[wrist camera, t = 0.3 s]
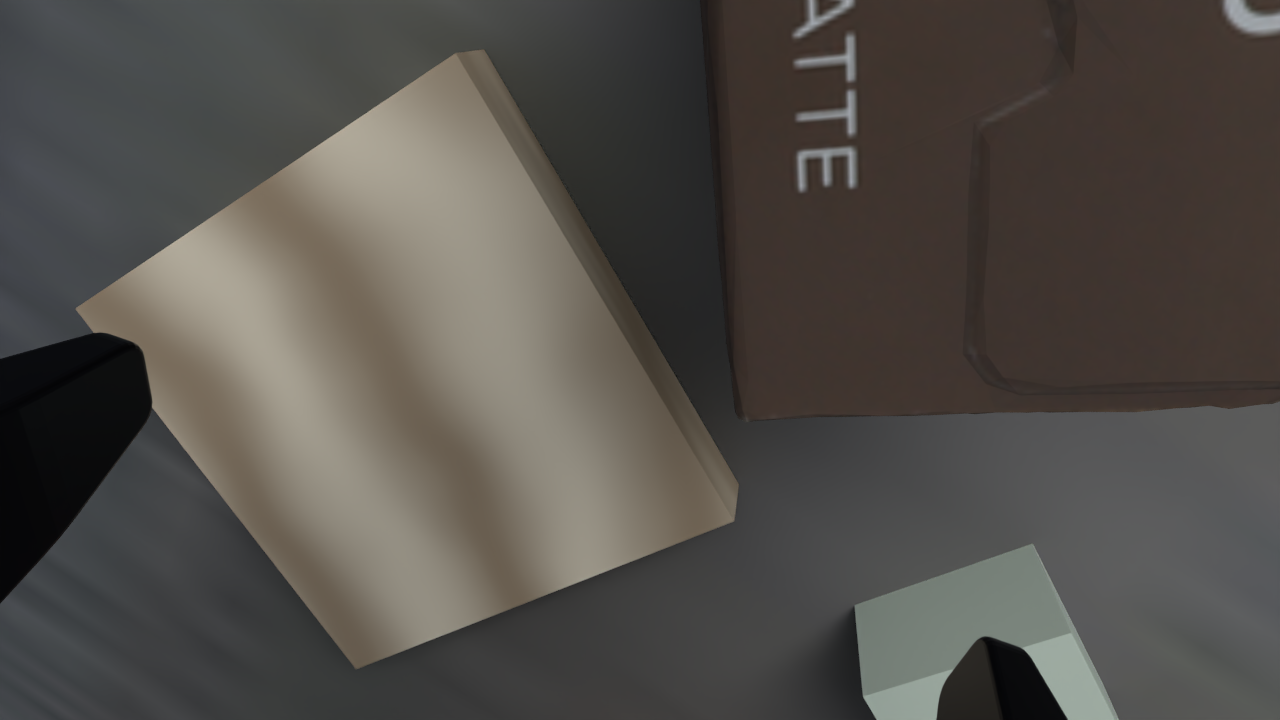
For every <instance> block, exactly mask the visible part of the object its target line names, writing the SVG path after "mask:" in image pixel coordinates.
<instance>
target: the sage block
mask: <svg viewBox="0 0 1280 720" xmlns="http://www.w3.org/2000/svg"><path fill="white" fill-rule="evenodd" d="M854 606H855V616H856V627H857V638H858V649H859V660H860V671H861V682H862V692H863V698H864V699H865V701H866V703H867V704H868V706H869V708H870V709H871V711H872V713H873V714H874V716H875V718H876V719H877V720H936V718H937V710H938V702H939V697H940V693H941V690H942V687H943V685H944V683H945V681H946V679H947V677H948V676H949V675H950V673H951V672H952V671H953V670H954V668H955V667H956V666H957V664H958V663H959V662H960V660H961V659H962V658H963V656H964V655H965V654H966V653H967V651H968V650H969V649H970V647H971V646H972V645H973V643H974V642H975V641H976V640H977V639H979V638H981V637H984V636H988V637H992V638H995V639H998V640H1001V641H1004V642H1007V643H1010V644H1012V645H1015V646H1018V647H1020V648H1022V649H1024V650H1025V651H1026V652H1027V653H1028V654H1029V655H1030V657H1031V658H1032V660H1033V662H1034V663H1035V665H1036V667H1037V668H1038V670H1039V672H1040V673H1041V675H1042V677H1043V678H1044V680H1045V682H1046V683H1047V685H1048V687H1049V688H1050V690H1051V692H1052V693H1053V695H1054V697H1055V698H1056V700H1057V702H1058V703H1059V705H1060V707H1061V709H1062V710H1063V712H1064V714H1065V715H1066V717H1067V719H1068V720H1119V719H1118V717H1117V714H1116V712H1115V710H1114V708H1113V706H1112V703H1111V701H1110V699H1109V697H1108V694H1107V692H1106V690H1105V688H1104V685H1103V683H1102V681H1101V679H1100V677H1099V675H1098V673H1097V671H1096V669H1095V667H1094V665H1093V663H1092V661H1091V659H1090V657H1089V655H1088V653H1087V651H1086V649H1085V647H1084V645H1083V643H1082V641H1081V639H1080V637H1079V635H1078V633H1077V631H1076V629H1075V627H1074V625H1073V623H1072V621H1071V619H1070V617H1069V615H1068V613H1067V611H1066V609H1065V607H1064V605H1063V603H1062V601H1061V599H1060V597H1059V595H1058V593H1057V591H1056V589H1055V587H1054V585H1053V583H1052V581H1051V579H1050V577H1049V575H1048V573H1047V571H1046V569H1045V567H1044V565H1043V563H1042V561H1041V559H1040V557H1039V555H1038V553H1037V551H1036V549H1035V547H1034V545H1033V544H1030V545H1027V546H1024V547H1022V548H1019V549H1016V550H1013V551H1010V552H1007V553H1004V554H1001V555H998V556H995V557H993V558H990V559H987V560H984V561H981V562H978V563H975V564H972V565H969V566H967V567H964V568H961V569H958V570H955V571H952V572H949V573H946V574H943V575H940V576H938V577H935V578H932V579H929V580H926V581H923V582H920V583H917V584H914V585H912V586H909V587H906V588H903V589H900V590H897V591H894V592H891V593H888V594H885V595H883V596H880V597H877V598H874V599H871V600H868V601H865V602H862V603H859V604H857V605H854Z"/></svg>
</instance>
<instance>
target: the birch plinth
mask: <svg viewBox="0 0 1280 720" xmlns="http://www.w3.org/2000/svg"><path fill="white" fill-rule="evenodd" d="M76 310H77V312H78V313H79V314H80V315H81V317H82V318H83V319H84V321H85V322H86V323H87V324H88V326H89V327H90V328H91V330H92V331H93V332H94V333H99V332H102V333H108V334H111V335H114V336H117V337H120V338H123V339H126V340H129V341H132V342H134V343H136V344H138V345H139V347H140V348H141V349H142V351H143V353H144V356H145V362H146V367H147V373H148V378H149V383H150V389H151V394H152V401H153V403H152V408H153V409H154V410H155V412H156V413H157V414H158V416H159V417H160V418H161V419H162V421H163V422H164V423H165V425H166V426H167V427H168V428H169V430H170V431H171V432H172V434H173V435H174V436H175V437H176V439H177V440H178V441H179V443H180V444H181V445H182V446H183V448H184V449H185V450H186V452H187V453H188V454H189V455H190V457H191V458H192V459H193V460H194V462H195V463H196V464H197V466H198V467H199V468H200V469H201V471H202V472H203V473H204V475H205V476H206V477H207V478H208V480H209V481H210V482H211V484H212V485H213V486H214V487H215V489H216V490H217V491H218V493H219V494H220V495H221V496H222V498H223V499H224V500H225V502H226V503H227V504H228V505H229V507H230V508H231V509H232V511H233V512H234V513H235V514H236V516H237V517H238V518H239V520H240V521H241V522H242V523H243V525H244V526H245V527H246V529H247V530H248V531H249V532H250V534H251V535H252V536H253V538H254V539H255V540H256V541H257V543H258V544H259V545H260V547H261V548H262V549H263V550H264V552H265V553H266V554H267V555H268V557H269V558H270V559H271V561H272V562H273V563H274V564H275V566H276V567H277V568H278V570H279V571H280V572H281V573H282V575H283V576H284V577H285V579H286V580H287V581H288V582H289V584H290V585H291V586H292V588H293V589H294V590H295V591H296V593H297V594H298V595H299V597H300V598H301V599H302V600H303V602H304V603H305V604H306V606H307V607H308V608H309V609H310V611H311V612H312V613H313V615H314V616H315V617H316V618H317V620H318V621H319V622H320V624H321V625H322V626H323V627H324V629H325V630H326V631H327V633H328V634H329V635H330V636H331V638H332V639H333V640H334V642H335V643H336V644H337V645H338V647H339V648H340V649H341V650H342V652H343V653H344V654H345V656H346V657H347V658H348V659H349V661H350V662H351V663H352V665H353V666H354V667H355V668H356V669H358V668H361V667H363V666H366V665H368V664H371V663H374V662H376V661H379V660H381V659H384V658H386V657H389V656H391V655H394V654H397V653H399V652H402V651H404V650H407V649H409V648H412V647H414V646H417V645H420V644H422V643H425V642H427V641H430V640H432V639H435V638H437V637H440V636H443V635H445V634H448V633H450V632H453V631H455V630H458V629H460V628H463V627H465V626H468V625H471V624H473V623H476V622H478V621H481V620H483V619H486V618H488V617H491V616H494V615H496V614H499V613H501V612H504V611H506V610H509V609H511V608H514V607H517V606H519V605H522V604H524V603H527V602H529V601H532V600H534V599H537V598H540V597H542V596H545V595H547V594H550V593H552V592H555V591H557V590H560V589H562V588H565V587H568V586H570V585H573V584H575V583H578V582H580V581H583V580H585V579H588V578H591V577H593V576H596V575H598V574H601V573H603V572H606V571H608V570H611V569H614V568H616V567H619V566H621V565H624V564H626V563H629V562H631V561H634V560H636V559H639V558H642V557H644V556H647V555H649V554H652V553H654V552H657V551H659V550H662V549H665V548H667V547H670V546H672V545H675V544H677V543H680V542H682V541H685V540H688V539H690V538H693V537H695V536H698V535H700V534H703V533H705V532H708V531H711V530H713V529H716V528H718V527H721V526H723V525H726V524H728V523H731V522H733V521H734V520H735V512H736V504H737V496H738V488H739V484H738V482H737V480H736V479H735V477H734V475H733V473H732V472H731V470H730V468H729V467H728V465H727V463H726V461H725V460H724V458H723V456H722V455H721V453H720V451H719V449H718V448H717V446H716V444H715V443H714V441H713V439H712V438H711V436H710V434H709V432H708V431H707V429H706V427H705V426H704V424H703V422H702V420H701V419H700V417H699V415H698V414H697V412H696V410H695V409H694V407H693V405H692V403H691V402H690V400H689V398H688V397H687V395H686V393H685V391H684V390H683V388H682V386H681V385H680V383H679V381H678V380H677V378H676V376H675V374H674V373H673V371H672V369H671V368H670V366H669V364H668V362H667V361H666V359H665V357H664V356H663V354H662V352H661V350H660V349H659V347H658V345H657V344H656V342H655V340H654V339H653V337H652V335H651V333H650V332H649V330H648V328H647V327H646V325H645V323H644V321H643V320H642V318H641V316H640V315H639V313H638V311H637V310H636V308H635V306H634V304H633V303H632V301H631V299H630V298H629V296H628V294H627V292H626V291H625V289H624V287H623V286H622V284H621V282H620V281H619V279H618V277H617V275H616V274H615V272H614V270H613V269H612V267H611V265H610V263H609V262H608V260H607V258H606V257H605V255H604V253H603V251H602V250H601V248H600V246H599V245H598V243H597V241H596V240H595V238H594V236H593V234H592V233H591V231H590V229H589V228H588V226H587V224H586V222H585V221H584V219H583V217H582V216H581V214H580V212H579V211H578V209H577V207H576V205H575V204H574V202H573V200H572V199H571V197H570V195H569V193H568V192H567V190H566V188H565V187H564V185H563V183H562V182H561V180H560V178H559V176H558V175H557V173H556V171H555V170H554V168H553V166H552V164H551V163H550V161H549V159H548V158H547V156H546V154H545V153H544V151H543V149H542V147H541V146H540V144H539V142H538V141H537V139H536V137H535V135H534V134H533V132H532V130H531V129H530V127H529V125H528V123H527V122H526V120H525V118H524V117H523V115H522V113H521V112H520V110H519V108H518V106H517V105H516V103H515V101H514V100H513V98H512V96H511V94H510V93H509V91H508V89H507V88H506V86H505V84H504V83H503V81H502V79H501V77H500V76H499V74H498V72H497V71H496V69H495V67H494V65H493V64H492V62H491V60H490V59H489V57H488V55H487V54H486V52H485V50H484V49H483V50H476V51H468V52H461V53H455V54H454V55H452V56H451V57H449V58H448V59H446V60H445V61H443V62H442V63H440V64H439V65H437V66H436V67H434V68H433V69H431V70H430V71H428V72H427V73H425V74H424V75H422V76H421V77H419V78H418V79H416V80H415V81H413V82H412V83H411V84H409V85H408V86H406V87H405V88H403V89H402V90H400V91H399V92H397V93H396V94H394V95H393V96H391V97H390V98H388V99H387V100H385V101H384V102H382V103H381V104H379V105H378V106H376V107H375V108H373V109H372V110H370V111H369V112H367V113H366V114H364V115H363V116H361V117H360V118H358V119H357V120H355V121H354V122H352V123H351V124H349V125H348V126H346V127H345V128H344V129H342V130H341V131H339V132H338V133H336V134H335V135H333V136H332V137H330V138H329V139H327V140H326V141H324V142H323V143H321V144H320V145H318V146H317V147H315V148H314V149H312V150H311V151H309V152H308V153H306V154H305V155H303V156H302V157H300V158H299V159H297V160H296V161H294V162H293V163H291V164H290V165H288V166H287V167H285V168H284V169H282V170H281V171H279V172H278V173H277V174H275V175H274V176H272V177H271V178H269V179H268V180H266V181H265V182H263V183H262V184H260V185H259V186H257V187H256V188H254V189H253V190H251V191H250V192H248V193H247V194H245V195H244V196H242V197H241V198H239V199H238V200H236V201H235V202H233V203H232V204H230V205H229V206H227V207H226V208H224V209H223V210H221V211H220V212H218V213H217V214H215V215H214V216H212V217H211V218H210V219H208V220H207V221H205V222H204V223H202V224H201V225H199V226H198V227H196V228H195V229H193V230H192V231H190V232H189V233H187V234H186V235H184V236H183V237H181V238H180V239H178V240H177V241H175V242H174V243H172V244H171V245H169V246H168V247H166V248H165V249H163V250H162V251H160V252H159V253H157V254H156V255H154V256H153V257H151V258H150V259H148V260H147V261H146V262H144V263H143V264H141V265H140V266H138V267H137V268H135V269H134V270H132V271H131V272H129V273H128V274H126V275H125V276H123V277H122V278H120V279H119V280H117V281H116V282H114V283H113V284H111V285H110V286H108V287H107V288H105V289H104V290H102V291H101V292H99V293H98V294H96V295H95V296H93V297H92V298H90V299H89V300H87V301H86V302H84V303H83V304H81V305H80V306H79V307H77V308H76Z"/></svg>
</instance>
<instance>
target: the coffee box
mask: <svg viewBox="0 0 1280 720" xmlns="http://www.w3.org/2000/svg"><path fill="white" fill-rule="evenodd" d="M700 4H701V17H702V31H703V44H704V57H705V71H706V84H707V98H708V112H709V126H710V139H711V153H712V167H713V180H714V194H715V208H716V224H717V240H718V251H719V261H720V270H721V280H722V291H723V304H724V317H725V330H726V344H727V350H728V356H729V362H730V368H731V376H732V388H733V397H734V405H735V412H736V414H737V416H738V419H741V420H743V421H745V422H752V421H759V420H776V419H793V418H809V417H850V416H918V415H943V414H961V413H969V414H980V413H994V412H1026V413H1028V412H1141V411H1152V410H1162V409H1172V408H1188V407H1199V406H1215V407H1221V408H1228V409H1232V408H1239V407H1246V406H1253V405H1260V404H1274V403H1276V402H1279V401H1280V0H700Z"/></svg>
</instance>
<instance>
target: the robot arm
mask: <svg viewBox="0 0 1280 720" xmlns="http://www.w3.org/2000/svg"><path fill="white" fill-rule="evenodd" d="M152 403H153V401H152V394H151V389H150V383H149V378H148V373H147V367H146V362H145V356H144V353H143V351H142V349H141V348H140V347H139V345H138V344H136V343H134V342H132V341H129V340H126V339H123V338H120V337H117V336H114V335H111V334H108V333H102V332H99V333H92V334H88V335H85V336H81V337H77V338H74V339H70V340H67V341H63V342H59V343H56V344H52V345H49V346H45V347H41V348H38V349H34V350H30V351H27V352H23V353H20V354H16V355H12V356H9V357H5V358H2V359H0V603H1V602H2V601H3V600H4V599H5V598H6V597H7V596H8V595H9V593H10V592H11V591H12V590H13V589H14V588H15V587H16V586H17V585H18V584H19V583H20V581H21V580H22V579H23V578H24V577H25V576H26V575H27V574H28V573H29V572H30V571H31V569H32V568H33V567H34V566H35V565H36V564H37V563H38V562H39V561H40V560H41V558H42V557H43V556H44V555H45V554H46V553H47V552H48V551H49V549H50V548H51V547H52V546H53V545H54V544H55V543H56V541H57V540H58V539H59V538H60V537H61V535H62V534H63V533H64V532H65V530H66V529H67V528H68V527H69V525H70V524H71V523H72V522H73V520H74V519H75V518H76V516H77V515H78V514H79V512H80V511H81V510H82V508H83V507H84V506H85V504H86V503H87V502H88V500H89V499H90V498H91V496H92V495H93V494H94V492H95V491H96V490H97V488H98V487H99V486H100V484H101V483H102V482H103V480H104V479H105V478H106V476H107V475H108V473H109V472H110V471H111V469H112V468H113V467H114V465H115V464H116V463H117V461H118V460H119V459H120V457H121V456H122V455H123V453H124V452H125V451H126V449H127V448H128V447H129V445H130V444H131V443H132V441H133V440H134V439H135V437H136V436H137V435H138V433H139V432H140V431H141V429H142V428H143V426H144V425H145V423H146V422H147V420H148V418H149V416H150V413H151V410H152ZM936 720H1068V719H1067V717H1066V715H1065V714H1064V712H1063V710H1062V709H1061V707H1060V705H1059V703H1058V702H1057V700H1056V698H1055V697H1054V695H1053V693H1052V692H1051V690H1050V688H1049V687H1048V685H1047V683H1046V682H1045V680H1044V678H1043V677H1042V675H1041V673H1040V672H1039V670H1038V668H1037V667H1036V665H1035V663H1034V662H1033V660H1032V658H1031V657H1030V655H1029V654H1028V653H1027V652H1026V651H1025V650H1024V649H1022V648H1020V647H1018V646H1015V645H1012V644H1010V643H1007V642H1004V641H1001V640H998V639H995V638H992V637H988V636H984V637H981V638H979V639H977V640H976V641H975V642H974V643H973V645H972V646H971V647H970V649H969V650H968V651H967V653H966V654H965V655H964V656H963V658H962V659H961V660H960V662H959V663H958V664H957V666H956V667H955V668H954V670H953V671H952V672H951V673H950V675H949V676H948V677H947V679H946V681H945V683H944V685H943V687H942V690H941V693H940V697H939V702H938V710H937V718H936Z"/></svg>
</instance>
